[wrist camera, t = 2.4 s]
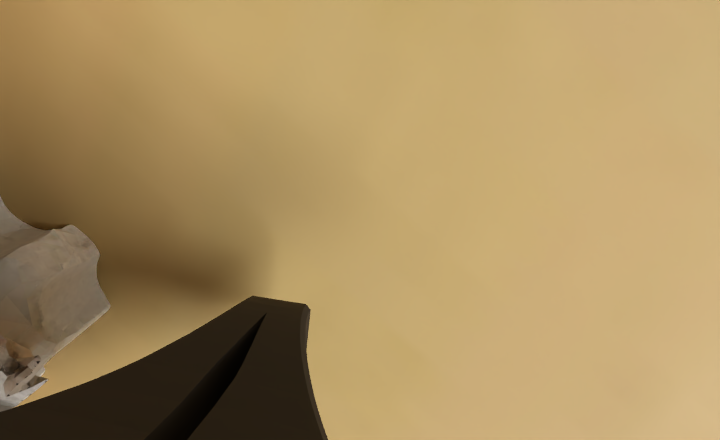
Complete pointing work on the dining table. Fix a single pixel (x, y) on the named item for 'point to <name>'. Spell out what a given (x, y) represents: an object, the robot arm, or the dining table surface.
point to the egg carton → (42, 300)
